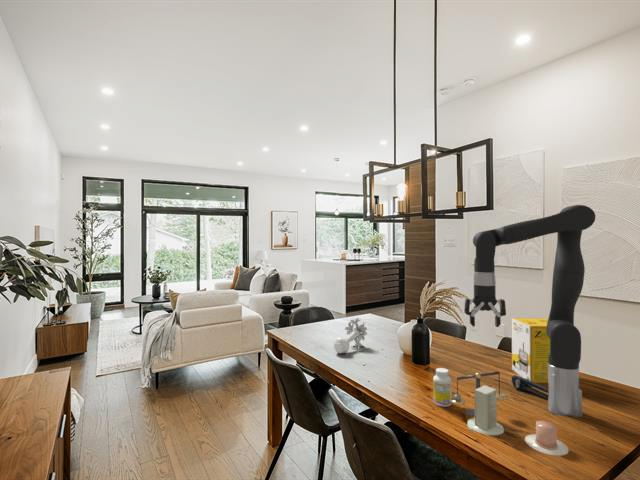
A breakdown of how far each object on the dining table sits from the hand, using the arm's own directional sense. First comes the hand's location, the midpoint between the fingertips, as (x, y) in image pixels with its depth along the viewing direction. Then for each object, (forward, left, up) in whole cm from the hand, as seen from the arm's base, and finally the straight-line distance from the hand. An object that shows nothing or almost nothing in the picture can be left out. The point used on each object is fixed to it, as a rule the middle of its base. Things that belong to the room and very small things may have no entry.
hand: (484, 326), depth 134 cm
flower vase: (+57, -59, -30) cm, 88 cm away
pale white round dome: (+5, +19, -30) cm, 36 cm away
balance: (+5, +10, -30) cm, 32 cm away
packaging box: (-32, -34, -30) cm, 56 cm away
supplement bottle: (+16, +2, -30) cm, 34 cm away
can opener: (-22, -14, -30) cm, 40 cm away
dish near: (-10, +27, -30) cm, 41 cm away
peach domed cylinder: (-10, +27, -29) cm, 40 cm away
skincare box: (+5, +19, -29) cm, 35 cm away
